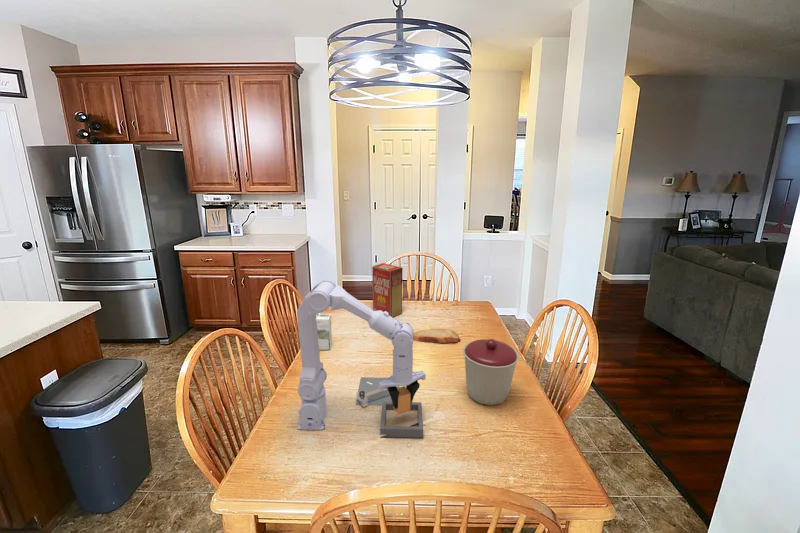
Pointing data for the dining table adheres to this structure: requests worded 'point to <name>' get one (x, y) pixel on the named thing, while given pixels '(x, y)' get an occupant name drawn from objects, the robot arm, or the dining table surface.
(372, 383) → the crank board
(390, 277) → the food packaging
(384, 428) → the tray
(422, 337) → the slice of bread
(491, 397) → the canister
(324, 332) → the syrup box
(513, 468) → the dining table surface
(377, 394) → the crank
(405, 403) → the block
